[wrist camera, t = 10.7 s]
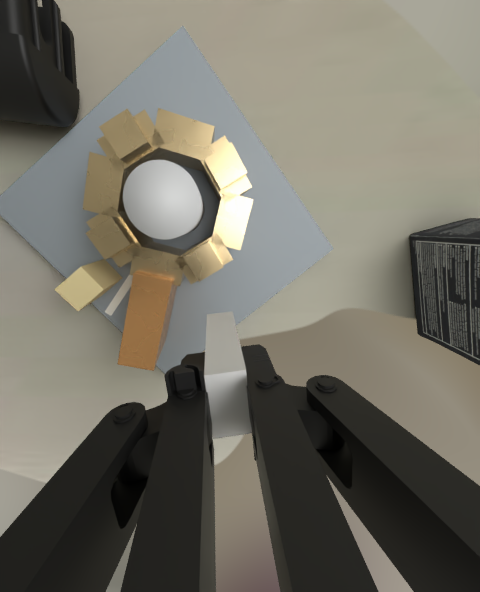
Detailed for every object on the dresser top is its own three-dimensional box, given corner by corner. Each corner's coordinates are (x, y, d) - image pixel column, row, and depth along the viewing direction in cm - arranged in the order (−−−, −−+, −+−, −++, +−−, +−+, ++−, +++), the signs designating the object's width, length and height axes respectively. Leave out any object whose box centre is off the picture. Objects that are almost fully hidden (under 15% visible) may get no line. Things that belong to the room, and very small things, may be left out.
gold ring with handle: (120, 115, 19) (86, 74, 14) (257, 158, 21) (272, 136, 15) (90, 325, 23) (53, 356, 17) (208, 349, 24) (207, 383, 19)
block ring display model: (4, 206, 21) (-124, 196, 13) (185, 39, 20) (165, -90, 12) (171, 369, 26) (152, 435, 18) (326, 247, 25) (382, 259, 16)
